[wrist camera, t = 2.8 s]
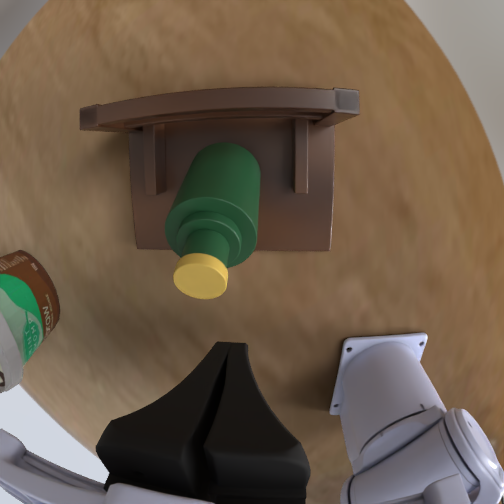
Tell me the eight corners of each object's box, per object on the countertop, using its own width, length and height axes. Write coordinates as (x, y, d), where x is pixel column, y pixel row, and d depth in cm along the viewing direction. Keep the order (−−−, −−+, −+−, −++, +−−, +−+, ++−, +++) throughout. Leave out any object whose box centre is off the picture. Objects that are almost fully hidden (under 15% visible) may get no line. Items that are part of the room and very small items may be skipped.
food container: (76, 356, 26) (28, 418, 17) (35, 339, 26) (-15, 390, 17) (63, 247, 22) (-16, 295, 13) (19, 235, 22) (-55, 273, 13)
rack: (329, 248, 21) (353, 292, 14) (139, 247, 22) (93, 285, 15) (332, 92, 18) (361, 64, 11) (131, 101, 18) (77, 86, 12)
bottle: (261, 203, 20) (255, 315, 13) (195, 203, 20) (161, 311, 14) (259, 141, 17) (252, 241, 10) (186, 143, 17) (133, 241, 11)
